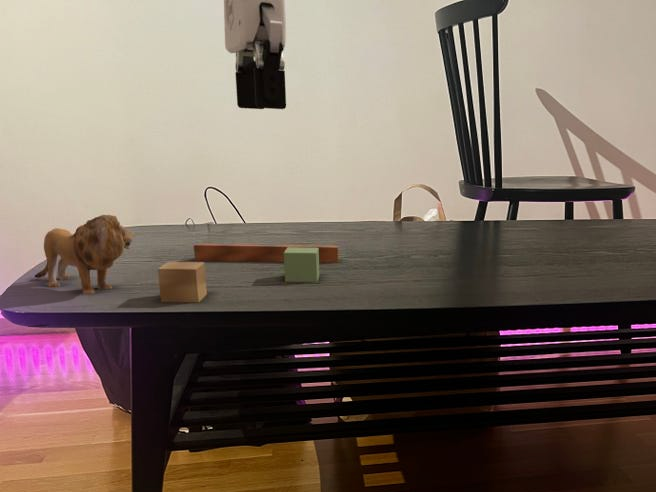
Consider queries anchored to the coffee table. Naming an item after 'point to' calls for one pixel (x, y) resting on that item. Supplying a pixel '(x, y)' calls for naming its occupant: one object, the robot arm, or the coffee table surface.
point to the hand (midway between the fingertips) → (260, 108)
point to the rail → (256, 252)
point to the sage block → (301, 264)
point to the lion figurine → (86, 250)
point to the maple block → (182, 282)
